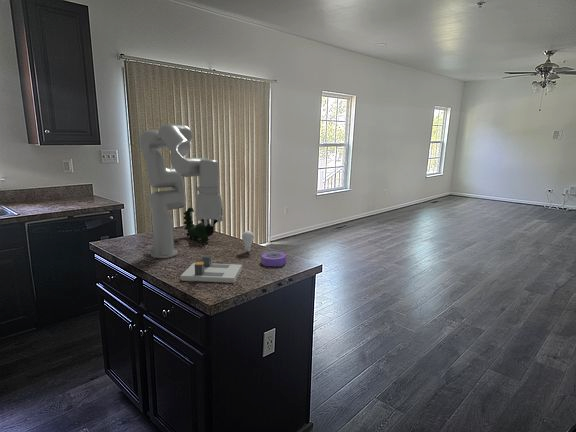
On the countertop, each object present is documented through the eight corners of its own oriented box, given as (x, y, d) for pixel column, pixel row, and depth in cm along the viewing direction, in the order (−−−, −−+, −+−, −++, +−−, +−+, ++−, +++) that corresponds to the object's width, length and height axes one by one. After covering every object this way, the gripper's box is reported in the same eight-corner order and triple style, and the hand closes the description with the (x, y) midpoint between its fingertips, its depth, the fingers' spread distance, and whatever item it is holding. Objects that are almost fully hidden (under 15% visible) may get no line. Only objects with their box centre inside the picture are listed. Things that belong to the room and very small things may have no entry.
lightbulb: (242, 249, 189) (242, 229, 186) (254, 249, 189) (253, 229, 187) (241, 253, 183) (241, 232, 181) (253, 253, 183) (253, 232, 181)
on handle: (202, 265, 157) (202, 257, 156) (204, 263, 160) (204, 255, 159) (209, 266, 157) (209, 257, 156) (211, 263, 160) (211, 255, 159)
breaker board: (180, 280, 147) (180, 275, 146) (193, 266, 162) (193, 262, 162) (234, 282, 145) (234, 277, 145) (242, 268, 161) (242, 264, 161)
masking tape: (256, 263, 170) (256, 255, 169) (272, 257, 178) (272, 249, 178) (274, 269, 162) (274, 260, 162) (291, 262, 171) (291, 254, 170)
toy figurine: (181, 240, 211) (204, 245, 194) (178, 208, 209) (201, 210, 191) (195, 237, 218) (219, 242, 200) (192, 206, 215) (216, 208, 197)
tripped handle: (194, 274, 147) (194, 264, 147) (197, 271, 150) (196, 261, 150) (202, 274, 147) (201, 264, 146) (204, 271, 150) (204, 262, 149)
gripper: (187, 191, 142) (189, 236, 146) (225, 192, 141) (225, 238, 145) (194, 188, 149) (195, 231, 153) (229, 190, 148) (230, 233, 152)
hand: (209, 234), depth 149 cm, fingers closed
